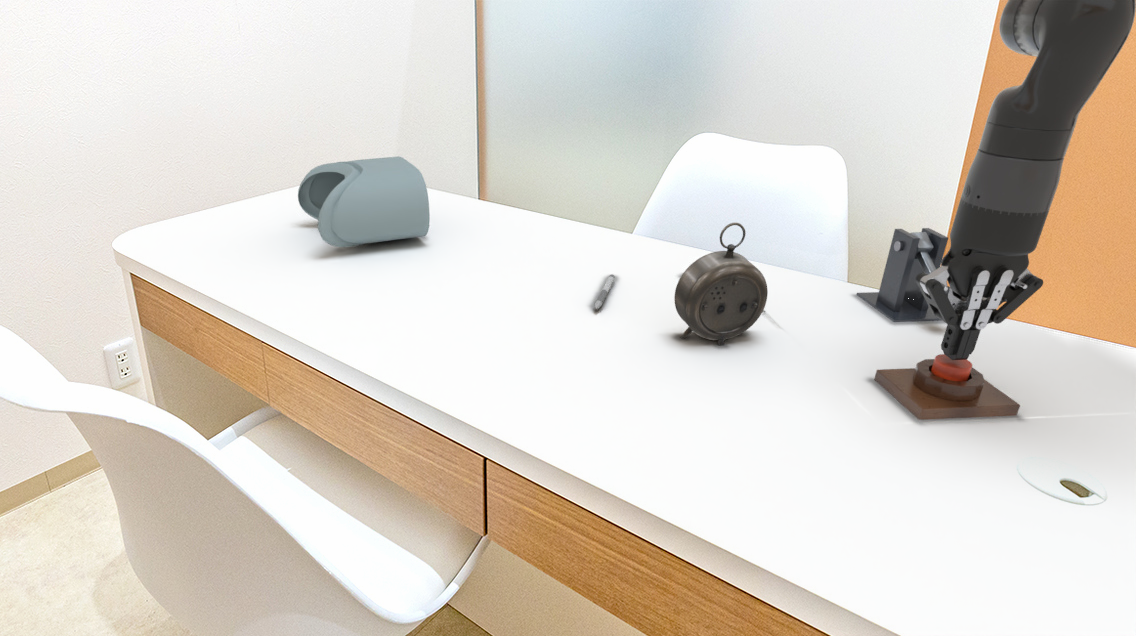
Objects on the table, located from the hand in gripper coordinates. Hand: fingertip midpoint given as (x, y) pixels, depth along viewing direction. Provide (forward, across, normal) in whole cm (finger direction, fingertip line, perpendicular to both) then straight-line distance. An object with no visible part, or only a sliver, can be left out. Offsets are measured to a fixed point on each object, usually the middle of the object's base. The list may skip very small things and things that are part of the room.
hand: (954, 356), depth 81 cm
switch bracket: (+6, +10, +25) cm, 28 cm away
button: (+2, 0, 0) cm, 2 cm away
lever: (0, +10, +22) cm, 24 cm away
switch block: (+6, 0, 0) cm, 6 cm away
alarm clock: (+6, -20, +17) cm, 27 cm away
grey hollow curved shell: (+6, -69, +66) cm, 96 cm away
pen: (+6, -31, +34) cm, 46 cm away
